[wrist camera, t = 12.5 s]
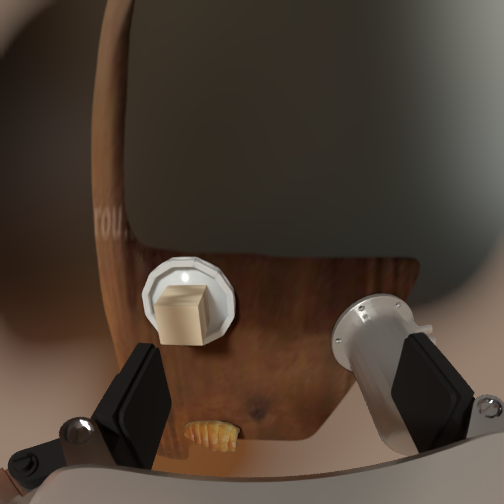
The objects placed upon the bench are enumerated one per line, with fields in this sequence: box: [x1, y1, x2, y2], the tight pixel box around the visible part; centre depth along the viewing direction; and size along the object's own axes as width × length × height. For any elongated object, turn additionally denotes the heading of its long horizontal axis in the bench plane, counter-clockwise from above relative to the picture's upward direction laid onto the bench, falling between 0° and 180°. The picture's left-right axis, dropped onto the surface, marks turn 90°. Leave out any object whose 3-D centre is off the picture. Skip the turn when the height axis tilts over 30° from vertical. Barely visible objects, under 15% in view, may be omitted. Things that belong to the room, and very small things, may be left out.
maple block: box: [154, 285, 210, 345], centre depth 35 cm, size 5×5×6 cm
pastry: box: [185, 420, 240, 453], centre depth 44 cm, size 9×7×4 cm
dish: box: [142, 256, 235, 345], centre depth 38 cm, size 12×12×1 cm
